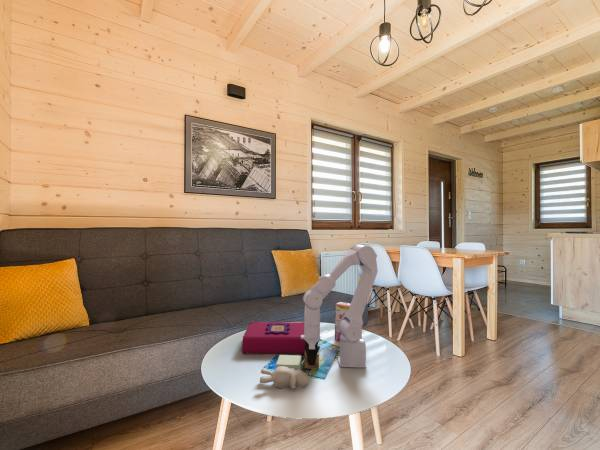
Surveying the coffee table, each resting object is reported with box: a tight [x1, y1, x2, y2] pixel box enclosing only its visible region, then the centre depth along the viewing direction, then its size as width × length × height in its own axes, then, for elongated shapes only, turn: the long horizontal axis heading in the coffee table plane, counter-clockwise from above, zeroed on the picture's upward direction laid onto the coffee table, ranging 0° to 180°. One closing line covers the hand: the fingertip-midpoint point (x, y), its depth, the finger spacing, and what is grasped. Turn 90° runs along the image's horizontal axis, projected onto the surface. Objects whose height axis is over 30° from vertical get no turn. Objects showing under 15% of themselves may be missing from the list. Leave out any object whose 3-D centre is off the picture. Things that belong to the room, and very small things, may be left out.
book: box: [241, 321, 306, 355], centre depth 133 cm, size 21×28×8 cm
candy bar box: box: [334, 301, 363, 342], centre depth 137 cm, size 11×5×16 cm, turn 58°
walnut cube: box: [304, 350, 320, 370], centre depth 113 cm, size 5×5×5 cm
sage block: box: [275, 354, 302, 370], centre depth 110 cm, size 8×8×4 cm
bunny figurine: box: [259, 366, 309, 390], centre depth 99 cm, size 10×5×15 cm
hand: (311, 361), depth 113 cm, fingers closed on walnut cube, 5 cm apart
